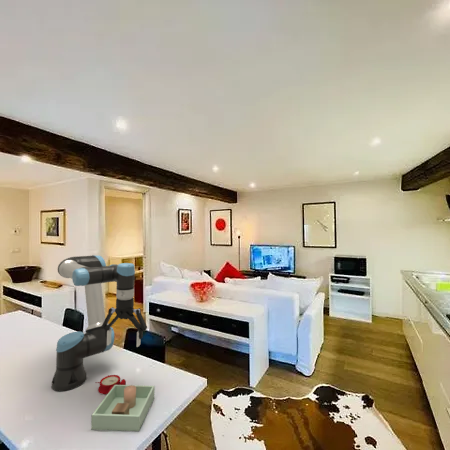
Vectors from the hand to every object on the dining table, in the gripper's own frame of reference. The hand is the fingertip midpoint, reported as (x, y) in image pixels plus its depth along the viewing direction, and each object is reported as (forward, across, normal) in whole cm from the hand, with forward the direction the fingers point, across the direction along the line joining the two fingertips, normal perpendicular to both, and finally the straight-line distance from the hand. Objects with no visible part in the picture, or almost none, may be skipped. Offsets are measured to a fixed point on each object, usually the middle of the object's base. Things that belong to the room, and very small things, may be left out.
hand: (123, 344), depth 117 cm
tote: (+25, +5, -8) cm, 26 cm away
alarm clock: (+26, -8, +8) cm, 28 cm away
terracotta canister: (+24, +5, -4) cm, 25 cm away
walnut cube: (+24, +5, -12) cm, 28 cm away
